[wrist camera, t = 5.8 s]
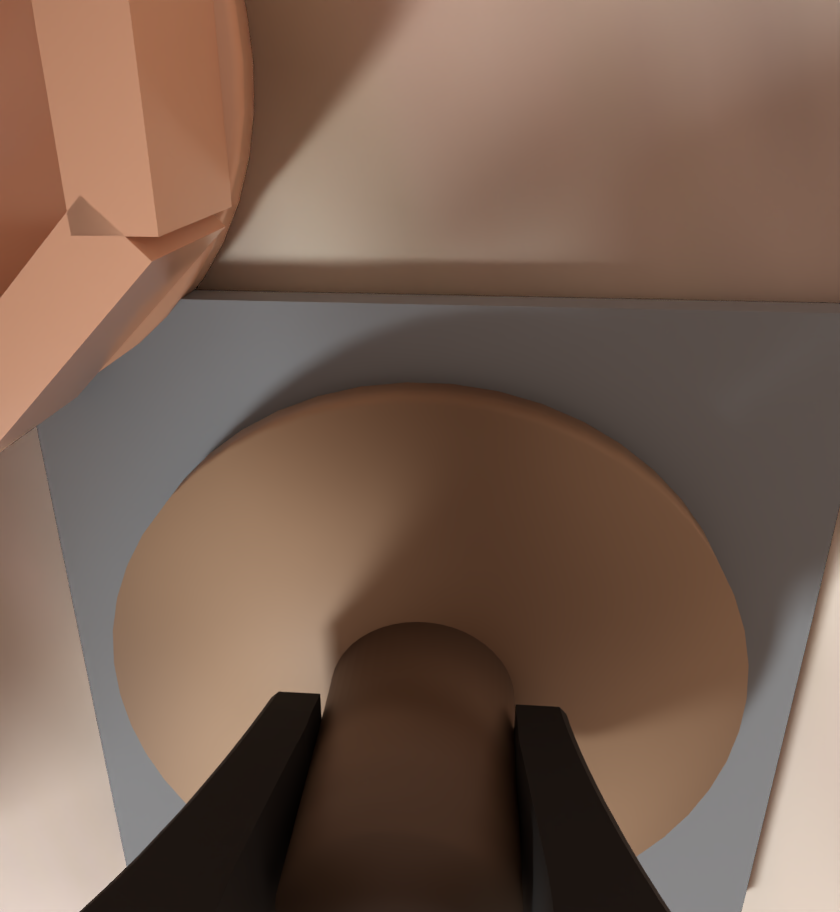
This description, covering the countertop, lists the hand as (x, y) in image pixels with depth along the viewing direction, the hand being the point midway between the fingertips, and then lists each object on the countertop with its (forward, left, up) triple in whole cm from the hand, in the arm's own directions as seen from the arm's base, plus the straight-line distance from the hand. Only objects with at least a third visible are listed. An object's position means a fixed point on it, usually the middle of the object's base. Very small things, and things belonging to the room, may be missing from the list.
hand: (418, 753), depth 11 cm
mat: (0, 0, -3) cm, 3 cm away
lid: (0, 0, -2) cm, 2 cm away
